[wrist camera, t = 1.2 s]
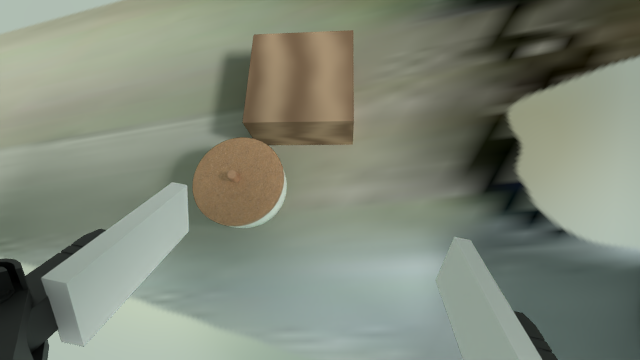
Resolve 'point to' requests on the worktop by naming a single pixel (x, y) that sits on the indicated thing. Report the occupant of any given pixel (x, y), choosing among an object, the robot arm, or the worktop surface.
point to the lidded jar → (240, 183)
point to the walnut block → (301, 89)
